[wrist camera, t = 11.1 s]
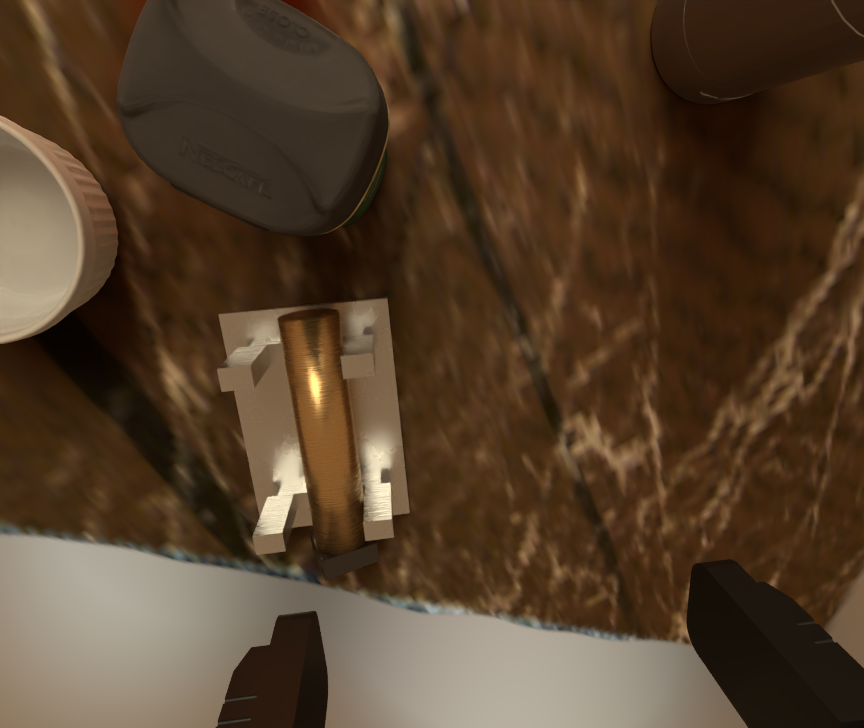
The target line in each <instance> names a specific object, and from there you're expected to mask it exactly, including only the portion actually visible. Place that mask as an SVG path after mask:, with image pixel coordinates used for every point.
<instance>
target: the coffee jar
mask: <svg viewBox="0 0 864 728" xmlns="http://www.w3.org/2000/svg"><path fill="white" fill-rule="evenodd" d="M116 101H117V107H118V113H119V117H120V121H121V124H122V127H123V130H124V132H125V135H126V137H127V139H128V141H129V143H130V144H131V146H132V147H133V149H134V150H135V152H136V153H137V155H138V156H139V157H140V158H141V160H142V161H143V162H144V163H145V164H146V165H147V166H148V167H150V168H151V169H152V170H153V171H154V172H155V173H156V174H158V175H159V176H161V177H162V178H164V179H166V180H167V181H169V182H170V184H171V185H172V186H173V187H174V188H175V189H176V190H177V191H179V192H181V193H183V194H186V195H188V196H190V197H192V198H195V199H197V200H199V201H201V202H203V203H205V204H207V205H209V206H211V207H213V208H215V209H217V210H220V211H222V212H224V213H226V214H228V215H230V216H232V217H234V218H236V219H238V220H240V221H242V222H244V223H246V224H248V225H250V226H253V227H255V228H257V229H259V230H261V231H274V232H277V233H281V234H286V235H295V236H304V237H307V236H316V235H321V234H325V233H328V232H331V231H333V230H335V229H337V228H338V227H344V226H347V225H350V224H352V223H354V222H356V221H357V220H358V219H360V218H361V217H362V216H363V214H364V213H365V212H366V211H367V209H368V208H369V206H370V204H371V202H372V201H373V199H374V197H375V195H376V193H377V191H378V188H379V186H380V183H381V181H382V178H383V175H384V172H385V168H386V162H387V151H386V145H387V141H388V137H389V128H390V117H389V109H388V105H387V101H386V98H385V95H384V93H383V90H382V88H381V86H380V84H379V82H378V81H377V78H376V76H375V74H374V72H373V70H372V69H371V67H370V66H369V64H368V63H367V61H366V60H365V59H364V58H363V56H362V55H361V54H360V53H359V52H358V51H357V50H356V49H355V48H354V47H353V46H352V45H350V44H349V43H348V42H346V41H345V40H344V39H342V38H341V37H339V36H338V35H336V34H335V33H333V32H332V31H330V30H329V29H327V28H326V27H324V26H323V25H321V24H320V23H318V22H317V21H315V20H314V19H312V18H310V17H309V16H307V15H306V14H304V13H303V12H301V11H299V10H298V9H296V8H294V7H292V6H290V5H289V4H287V3H285V2H283V1H281V0H147V1H146V3H145V5H144V8H143V10H142V12H141V14H140V16H139V18H138V21H137V23H136V26H135V28H134V31H133V34H132V36H131V39H130V42H129V45H128V48H127V51H126V55H125V58H124V62H123V66H122V70H121V74H120V78H119V83H118V89H117V100H116Z"/></svg>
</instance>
